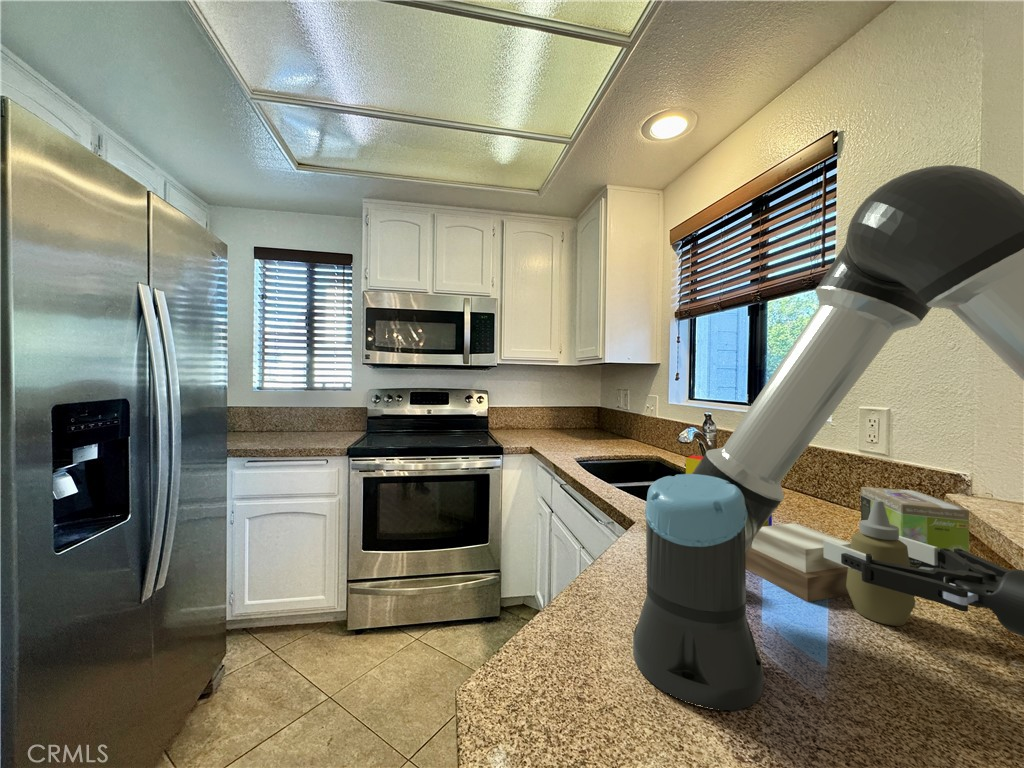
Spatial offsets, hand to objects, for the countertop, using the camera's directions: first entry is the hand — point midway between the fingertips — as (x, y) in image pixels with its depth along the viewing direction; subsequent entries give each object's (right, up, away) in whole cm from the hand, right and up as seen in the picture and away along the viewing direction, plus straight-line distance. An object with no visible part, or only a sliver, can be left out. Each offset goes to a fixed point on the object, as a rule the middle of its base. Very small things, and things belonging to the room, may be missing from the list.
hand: (856, 544), depth 65 cm
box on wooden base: (-2, -10, +9) cm, 14 cm away
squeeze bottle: (+1, -10, -3) cm, 11 cm away
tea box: (+21, -10, +13) cm, 27 cm away
